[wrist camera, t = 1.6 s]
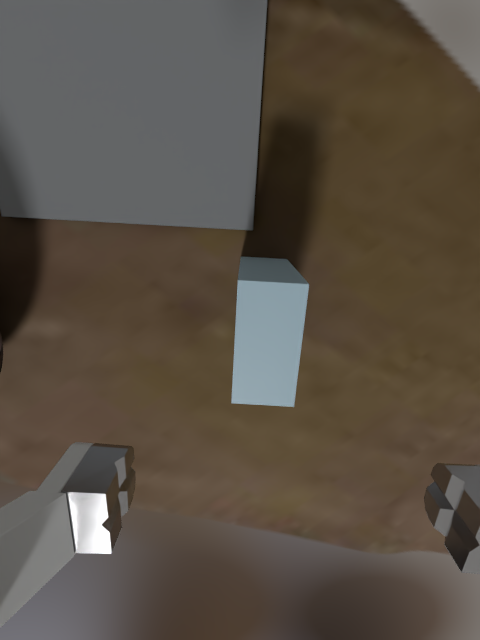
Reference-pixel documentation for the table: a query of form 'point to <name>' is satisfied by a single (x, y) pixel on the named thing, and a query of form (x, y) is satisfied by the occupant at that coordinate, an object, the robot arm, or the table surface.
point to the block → (268, 331)
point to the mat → (131, 110)
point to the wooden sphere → (1, 352)
